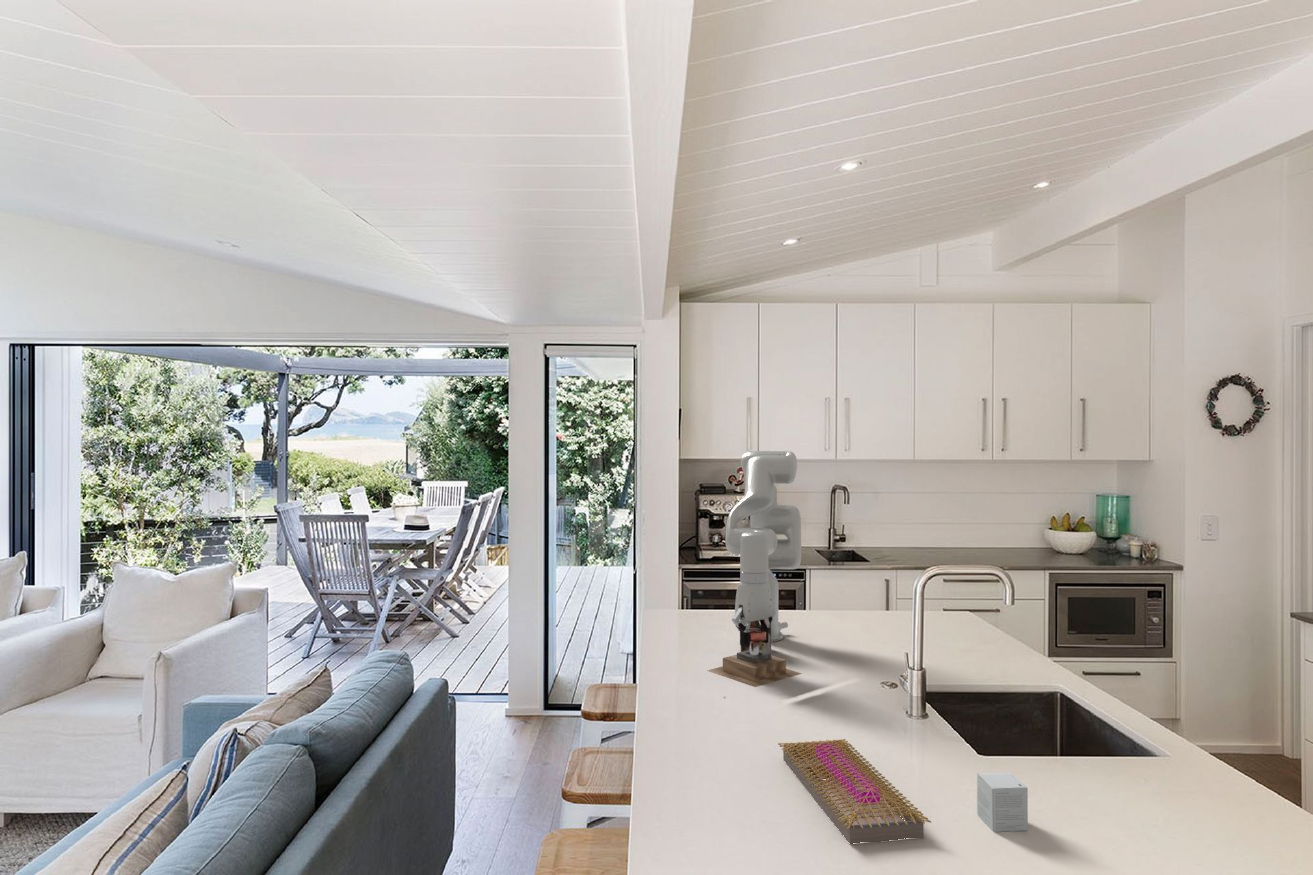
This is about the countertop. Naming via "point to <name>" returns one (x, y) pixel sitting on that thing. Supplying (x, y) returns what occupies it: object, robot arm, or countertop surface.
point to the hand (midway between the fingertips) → (754, 643)
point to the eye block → (754, 668)
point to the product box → (1002, 802)
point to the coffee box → (762, 646)
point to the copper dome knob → (756, 640)
